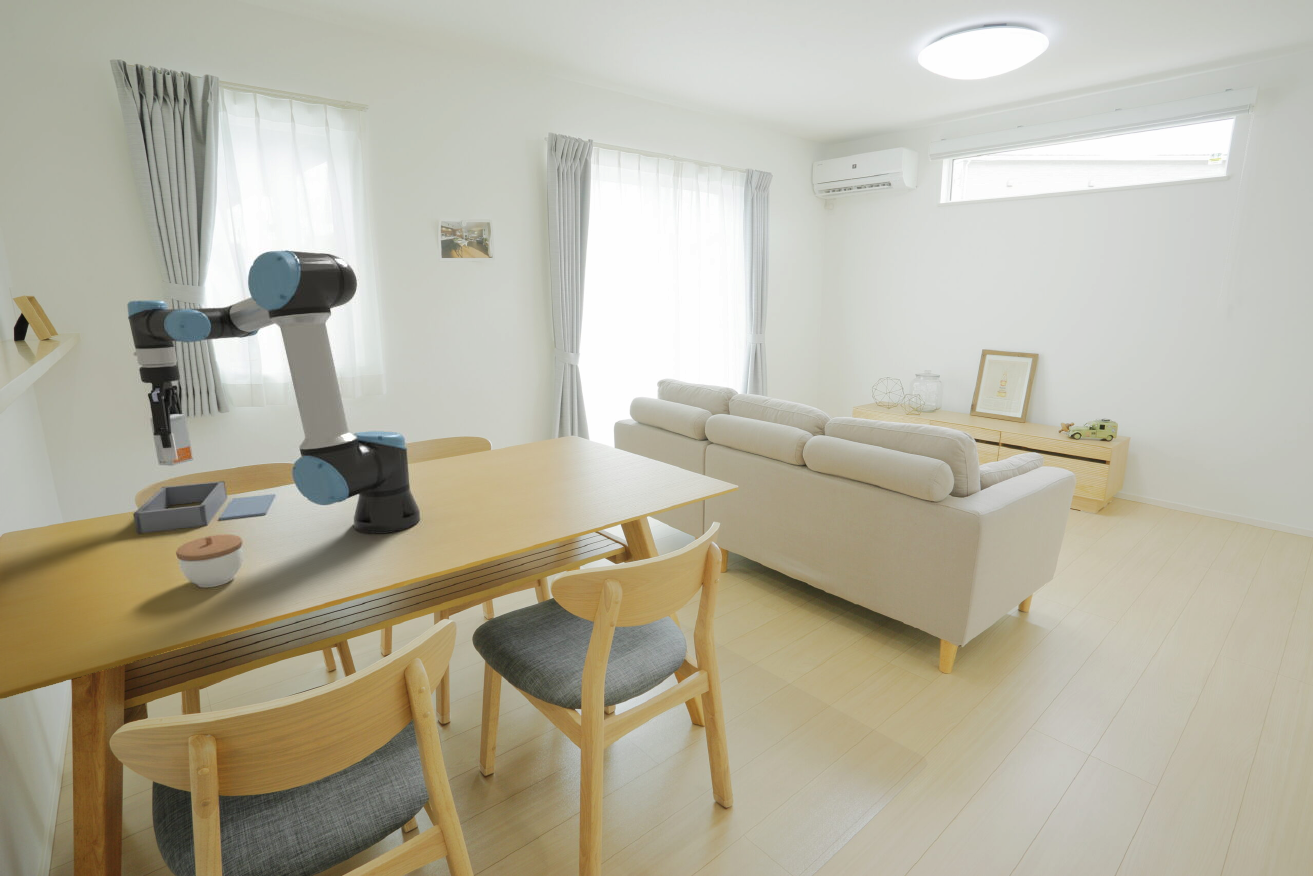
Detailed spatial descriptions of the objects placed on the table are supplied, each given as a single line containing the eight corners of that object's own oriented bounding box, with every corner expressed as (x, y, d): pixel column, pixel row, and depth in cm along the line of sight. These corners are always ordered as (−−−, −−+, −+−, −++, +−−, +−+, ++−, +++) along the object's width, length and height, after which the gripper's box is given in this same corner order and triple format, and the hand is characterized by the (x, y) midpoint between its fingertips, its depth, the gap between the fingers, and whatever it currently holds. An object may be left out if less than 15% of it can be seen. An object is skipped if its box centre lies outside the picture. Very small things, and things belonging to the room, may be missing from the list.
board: (265, 514, 162) (265, 512, 162) (219, 520, 158) (219, 517, 158) (275, 496, 176) (275, 494, 176) (233, 500, 173) (233, 498, 172)
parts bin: (207, 525, 155) (204, 506, 154) (137, 533, 149) (133, 513, 148) (227, 498, 174) (224, 480, 173) (165, 504, 169) (162, 486, 168)
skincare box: (172, 466, 155) (163, 418, 152) (158, 465, 156) (148, 418, 153) (194, 459, 161) (186, 414, 158) (180, 459, 162) (172, 413, 159)
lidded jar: (204, 569, 131) (196, 527, 128) (258, 568, 132) (251, 526, 129) (169, 594, 120) (160, 548, 118) (228, 592, 121) (220, 547, 119)
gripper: (152, 361, 160) (169, 448, 166) (123, 370, 142) (143, 468, 148) (188, 360, 163) (203, 445, 169) (164, 369, 145) (182, 464, 151)
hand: (175, 456), depth 158 cm, fingers closed on skincare box, 7 cm apart
